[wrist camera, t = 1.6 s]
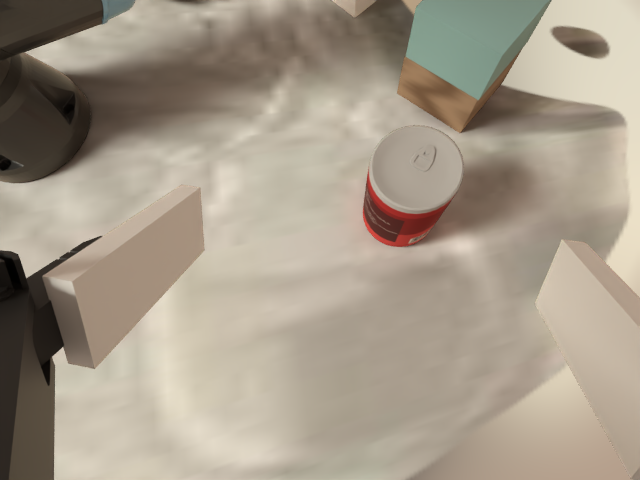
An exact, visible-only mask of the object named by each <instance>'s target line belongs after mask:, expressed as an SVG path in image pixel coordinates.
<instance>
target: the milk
mask: <svg viewBox="0 0 640 480" xmlns="http://www.w3.org/2000/svg"><path fill="white" fill-rule="evenodd" d="M332 1H333V2H334V3H336V4H337V5H338V6H340V7H341V8H342V9H344V10H345V11H346V12H348V13H349V14H350V15H352V16H353V17H354V18H356V17H357V16H358V15H359V14H361V13H362V12H363V11H364V10H366V9H367V8H368V7H369V6H371V5H372V4H373V3H374V2H375V1H377V0H332Z"/></svg>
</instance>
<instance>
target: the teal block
mask: <svg viewBox="0 0 640 480" xmlns="http://www.w3.org/2000/svg"><path fill="white" fill-rule="evenodd" d="M550 2H551V0H422V1H421V2H420V3H419V5H418V6H417V7H416V10H415V15H414V19H413V24H412V29H411V34H410V38H409V43H408V48H407V53H406V57H407V58H409V59H411V60H412V61H414V62H416V63H417V64H419V65H420V66H422V67H424V68H425V69H427V70H429V71H430V72H432V73H434V74H435V75H437V76H439V77H440V78H442V79H444V80H445V81H447V82H449V83H450V84H452V85H454V86H455V87H457V88H459V89H460V90H462V91H464V92H465V93H467V94H469V95H470V96H472V97H474V98H475V99H477V100H479V99H480V98H481V97H482V96H483V94H484V93H485V92H486V91H487V90H488V88H489V87H490V86H491V85H492V84H493V83H494V81H495V80H496V79H497V78H498V77H499V75H500V74H501V73H502V72H503V71H504V69H505V68H506V67H507V66H508V65H509V63H510V62H511V61H512V60H513V59H514V57H515V56H516V55H517V54H518V53H519V52H520V50H521V49H522V48H523V47H524V45H525V44H526V43H527V41H528V40H529V38H530V36H531V34H532V33H533V31H534V29H535V28H536V26H537V24H538V23H539V21H540V19H541V17H542V16H543V14H544V12H545V10H546V9H547V7H548V5H549V4H550Z"/></svg>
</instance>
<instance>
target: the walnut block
mask: <svg viewBox="0 0 640 480" xmlns="http://www.w3.org/2000/svg"><path fill="white" fill-rule="evenodd" d="M521 50H522V49H521ZM521 50H520V52H521ZM520 52H519V53H520ZM519 53H518V54H517V55H516V56H515V57H514V59H513V60H512V61H511V62H510V63H509V65H508V66H507V67H506V68H505V69H504V71H503V72H502V73H501V74H500V75H499V77H498V78H497V79H496V80H495V81H494V83H493V84H492V85H491V86H490V87H489V88H488V90H487V91H486V92H485V93H484V94H483V96H482V97H481V98H480V99H479V100H477V99H475V98H474V97H472V96H470V95H469V94H467V93H465V92H464V91H462V90H460V89H459V88H457V87H455V86H454V85H452V84H450V83H449V82H447V81H445V80H444V79H442V78H440V77H439V76H437V75H435V74H434V73H432V72H430V71H429V70H427V69H425V68H424V67H422V66H420V65H419V64H417V63H416V62H414V61H412V60H411V59H409V58H407V57H406V55H405V57H404V62H403V66H402V71H401V76H400V81H399V86H398V91H397V93H398V94H399V95H401V96H402V97H404V98H406V99H407V100H409V101H410V102H412V103H413V104H415V105H417V106H418V107H420V108H421V109H423V110H424V111H426V112H428V113H429V114H431V115H432V116H434V117H435V118H437V119H439V120H440V121H442V122H443V123H445V124H447V125H448V126H450V127H451V128H453V129H454V130H456V131H458V132H459V133H461V132H462V130H463V129H464V128H465V127H466V125H467V124H468V123H469V122H470V121H471V119H472V118H473V117H474V116H475V115H476V113H477V112H478V111H479V110H480V109H481V107H482V106H483V105H484V104H485V103H486V101H487V100H488V99H489V98H490V97H491V95H492V94H493V93H494V92H495V91H496V89H497V88H498V87H499V86H500V85H501V84H502V82H503V81H504V79H505V77H506V75H507V74H508V72H509V70H510V69H511V67H512V65H513V64H514V62H515V60H516V58H517V57H518V55H519Z"/></svg>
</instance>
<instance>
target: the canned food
mask: <svg viewBox="0 0 640 480" xmlns="http://www.w3.org/2000/svg"><path fill="white" fill-rule="evenodd" d="M463 174H464V162H463V157H462V154H461V152H460V150H459V148H458V147H457V145H456V144H455V142H454V141H453V140H452V139H451V138H450V137H449V136H447V135H446V134H444V133H443V132H441V131H439V130H437V129H434V128H432V127H427V126H420V125H413V126H406V127H402V128H399V129H396V130H395V131H393V132H391V133H389V134H388V135H387V136H385V137H384V138H383V139H382V140H381V141H380V142H379V143H378V145H377V146H376V148H375V150H374V151H373V154H372V157H371V160H370V163H369V169H368V175H367V183H366V191H365V198H364V206H363V218H364V222H365V225H366V227H367V229H368V231H369V232H370V233H371V234H372V236H373V237H374V238H376V239H377V240H378V241H380V242H382V243H384V244H386V245H390V246H396V247H402V246H409V245H412V244H415V243H416V242H418V241H420V240H422V239H423V238H424V237H425V236H426V235H427V234H428V233H429V231H430V230H431V229H432V227H433V226H434V224H435V223H436V222H437V220H438V219H439V217H440V216H441V215H442V213H443V212H444V210H445V209H446V207H447V206H448V205H449V203H450V202H451V200H452V199H453V197H454V196H455V194H456V193H457V191H458V189H459V187H460V185H461V182H462V179H463Z"/></svg>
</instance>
